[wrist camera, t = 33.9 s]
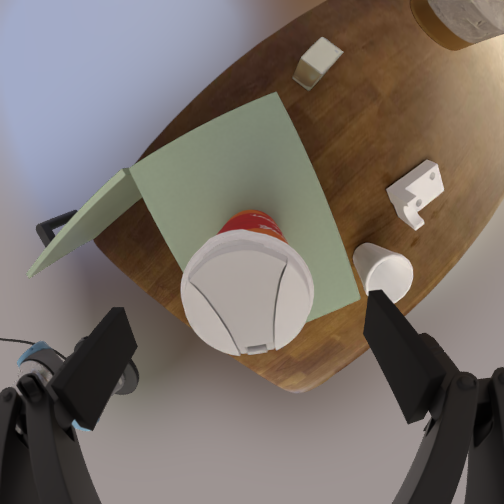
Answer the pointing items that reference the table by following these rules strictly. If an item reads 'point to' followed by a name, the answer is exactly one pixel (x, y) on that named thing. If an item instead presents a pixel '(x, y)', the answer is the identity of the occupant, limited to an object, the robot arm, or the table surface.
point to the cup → (383, 270)
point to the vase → (459, 20)
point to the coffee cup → (247, 287)
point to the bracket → (415, 192)
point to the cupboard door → (86, 220)
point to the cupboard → (247, 193)
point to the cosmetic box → (316, 63)
